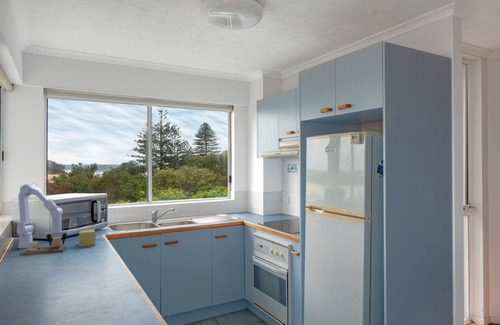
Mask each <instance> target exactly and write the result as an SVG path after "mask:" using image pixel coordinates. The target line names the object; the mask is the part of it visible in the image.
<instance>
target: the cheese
mask: <svg viewBox="0 0 500 325" xmlns="http://www.w3.org/2000/svg"><path fill="white" fill-rule="evenodd" d="M96 238H97V237H96V231H95V228H94V229H93V228H91V229H90V228H89V229H84V230H80V231H79V233H78V243H79V244H78V245H79V248H81V247H88V246H89V247H90V246H95V245H96V243H97V242H96V241H97V239H96Z"/></svg>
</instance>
